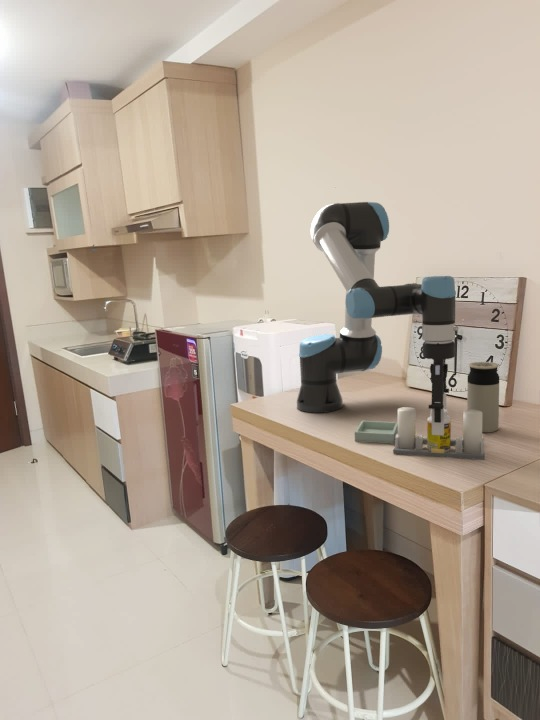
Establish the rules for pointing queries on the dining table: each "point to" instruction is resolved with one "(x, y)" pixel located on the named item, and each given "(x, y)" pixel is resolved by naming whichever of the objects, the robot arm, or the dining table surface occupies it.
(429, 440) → the supplement bottle
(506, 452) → the dining table surface
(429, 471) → the dining table surface
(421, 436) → the twin cylinder holder
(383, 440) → the tray
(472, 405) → the travel mug
